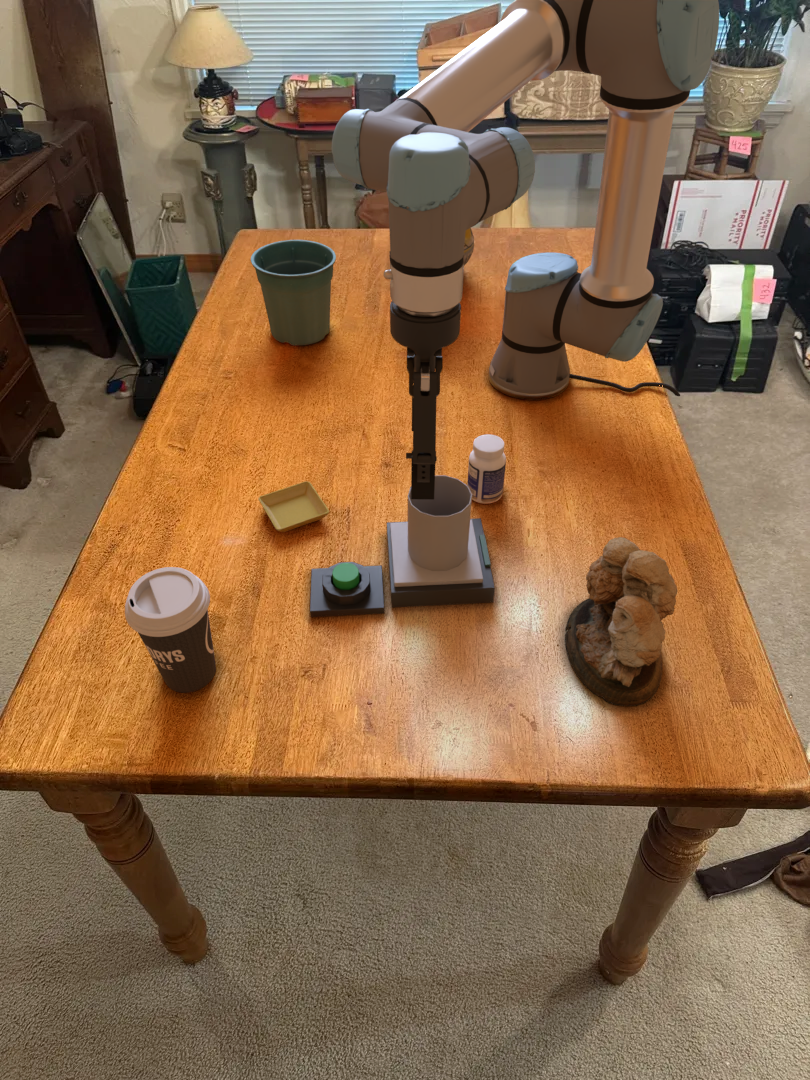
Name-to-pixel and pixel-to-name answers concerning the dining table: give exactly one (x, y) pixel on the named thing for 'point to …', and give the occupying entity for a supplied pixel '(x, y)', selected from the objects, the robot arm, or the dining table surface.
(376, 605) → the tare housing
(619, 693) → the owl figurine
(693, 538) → the dining table surface
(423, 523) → the cup
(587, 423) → the dining table surface
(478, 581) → the scale
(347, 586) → the button
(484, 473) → the pill bottle
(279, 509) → the olive yellow tray
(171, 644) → the coffee cup
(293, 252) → the flower pot
